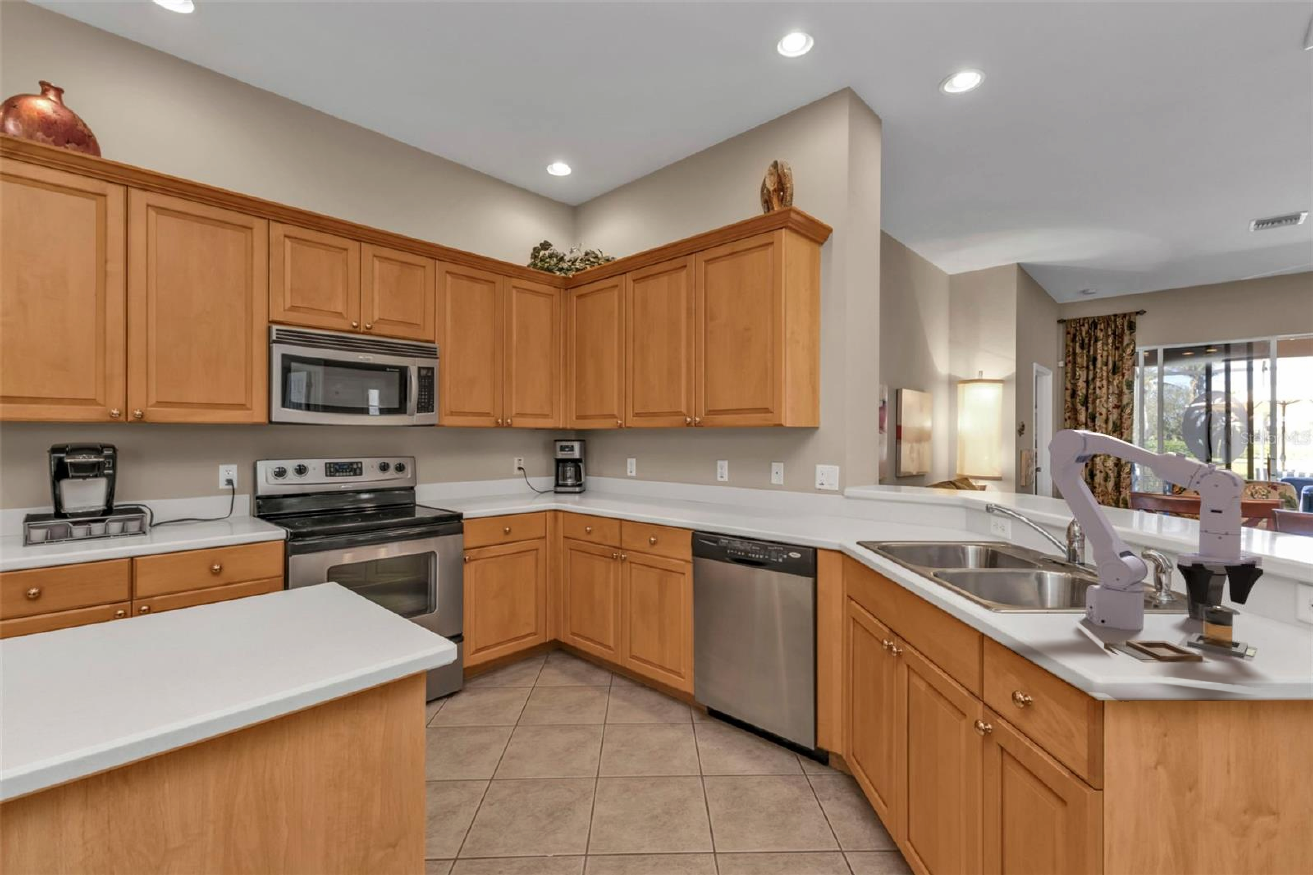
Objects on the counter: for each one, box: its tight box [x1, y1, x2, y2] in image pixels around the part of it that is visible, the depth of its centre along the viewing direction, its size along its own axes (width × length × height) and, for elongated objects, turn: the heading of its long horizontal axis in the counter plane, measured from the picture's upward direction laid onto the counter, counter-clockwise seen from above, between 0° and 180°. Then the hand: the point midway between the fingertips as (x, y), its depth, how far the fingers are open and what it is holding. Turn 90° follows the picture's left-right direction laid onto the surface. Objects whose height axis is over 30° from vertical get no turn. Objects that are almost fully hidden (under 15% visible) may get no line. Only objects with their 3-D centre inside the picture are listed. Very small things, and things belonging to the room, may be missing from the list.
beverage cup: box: [1185, 565, 1227, 622], centre depth 126 cm, size 7×7×20 cm
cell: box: [1202, 606, 1234, 649], centre depth 110 cm, size 4×4×8 cm
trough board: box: [1103, 640, 1211, 663], centre depth 107 cm, size 12×9×2 cm
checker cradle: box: [1177, 632, 1258, 662], centre depth 110 cm, size 10×10×2 cm
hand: (1218, 602), depth 110 cm, fingers open, 7 cm apart
